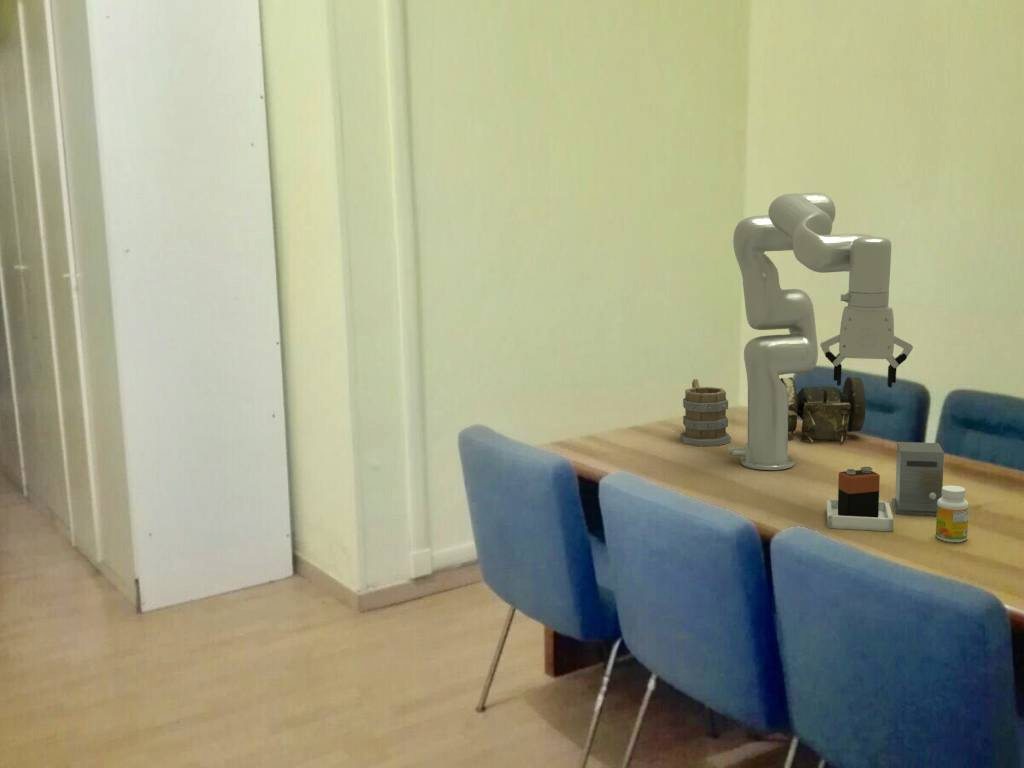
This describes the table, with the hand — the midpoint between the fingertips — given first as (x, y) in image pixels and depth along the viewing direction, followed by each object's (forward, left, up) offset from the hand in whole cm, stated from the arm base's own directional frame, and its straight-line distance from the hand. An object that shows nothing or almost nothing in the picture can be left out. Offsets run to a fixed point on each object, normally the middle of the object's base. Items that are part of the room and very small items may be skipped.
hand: (864, 385), depth 197 cm
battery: (-1, -6, -26) cm, 27 cm away
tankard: (-38, +61, -27) cm, 76 cm away
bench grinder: (-7, +65, -27) cm, 70 cm away
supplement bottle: (+15, -14, -27) cm, 34 cm away
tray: (-1, -6, -26) cm, 27 cm away
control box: (+11, +4, -26) cm, 29 cm away
